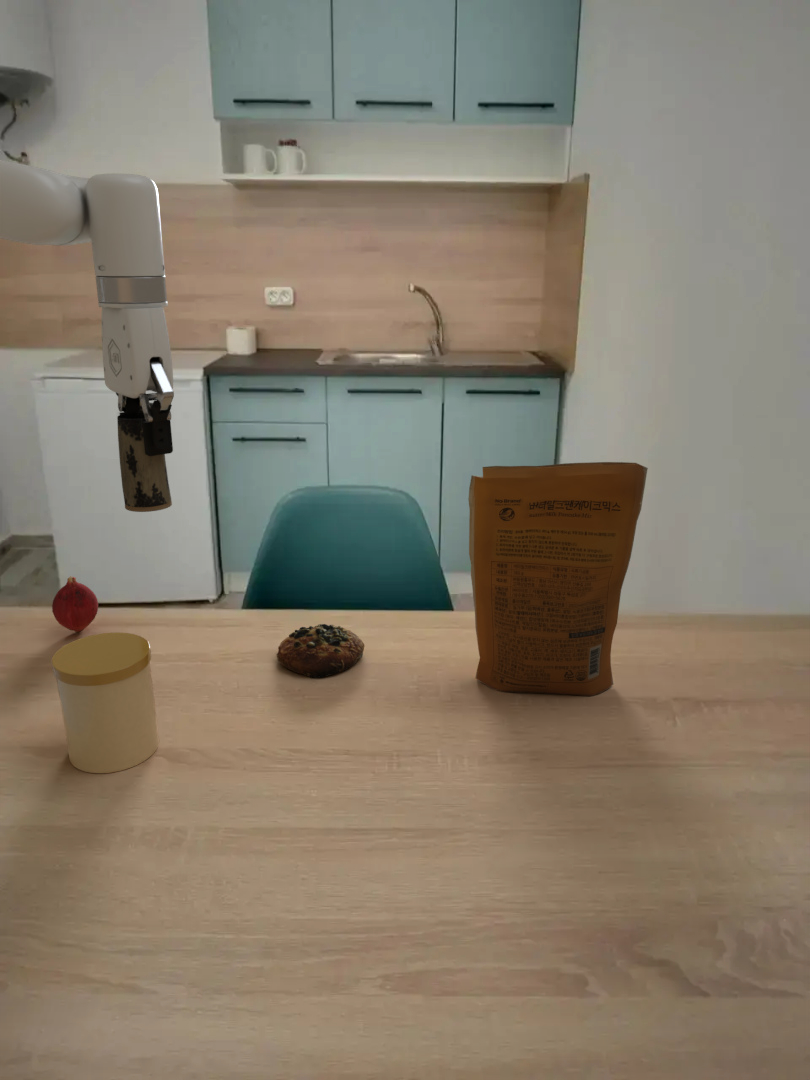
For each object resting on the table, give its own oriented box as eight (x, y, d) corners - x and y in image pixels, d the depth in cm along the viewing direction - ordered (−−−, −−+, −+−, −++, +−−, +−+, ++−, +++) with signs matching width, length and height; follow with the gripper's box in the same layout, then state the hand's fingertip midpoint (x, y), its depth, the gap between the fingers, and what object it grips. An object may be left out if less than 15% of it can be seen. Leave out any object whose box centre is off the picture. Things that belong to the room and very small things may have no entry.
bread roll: (297, 685, 99) (294, 645, 98) (264, 659, 108) (262, 623, 107) (379, 666, 104) (377, 628, 103) (341, 644, 114) (339, 608, 113)
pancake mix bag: (630, 706, 95) (654, 468, 86) (463, 697, 97) (468, 464, 87) (622, 677, 101) (643, 453, 92) (465, 670, 103) (470, 449, 94)
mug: (159, 513, 98) (149, 411, 94) (115, 511, 99) (104, 410, 95) (186, 496, 105) (178, 401, 102) (145, 494, 106) (136, 400, 102)
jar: (55, 743, 88) (39, 648, 84) (141, 714, 93) (130, 624, 90) (84, 786, 81) (68, 685, 77) (175, 752, 86) (164, 656, 83)
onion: (106, 633, 113) (99, 579, 110) (62, 644, 110) (53, 589, 107) (94, 619, 118) (87, 566, 115) (52, 629, 115) (43, 575, 112)
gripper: (73, 290, 98) (91, 440, 104) (128, 298, 85) (145, 468, 91) (135, 289, 102) (149, 433, 108) (196, 296, 90) (208, 458, 96)
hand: (147, 447), depth 100 cm, fingers closed on mug, 6 cm apart
